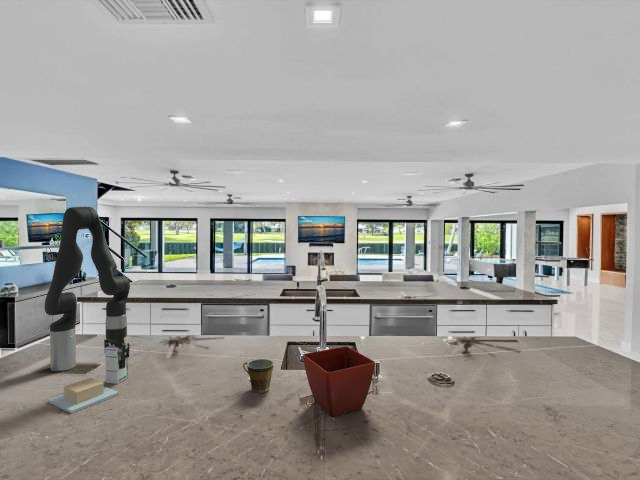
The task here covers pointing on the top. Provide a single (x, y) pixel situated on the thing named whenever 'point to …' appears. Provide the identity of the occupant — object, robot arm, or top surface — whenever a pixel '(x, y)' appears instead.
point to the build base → (83, 404)
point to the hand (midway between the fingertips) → (116, 366)
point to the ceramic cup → (259, 374)
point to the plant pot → (339, 379)
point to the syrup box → (114, 366)
